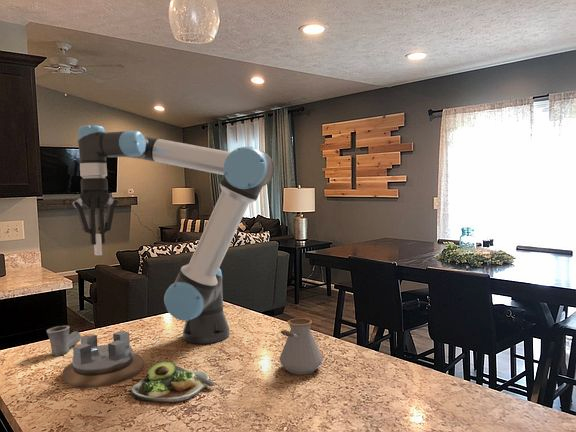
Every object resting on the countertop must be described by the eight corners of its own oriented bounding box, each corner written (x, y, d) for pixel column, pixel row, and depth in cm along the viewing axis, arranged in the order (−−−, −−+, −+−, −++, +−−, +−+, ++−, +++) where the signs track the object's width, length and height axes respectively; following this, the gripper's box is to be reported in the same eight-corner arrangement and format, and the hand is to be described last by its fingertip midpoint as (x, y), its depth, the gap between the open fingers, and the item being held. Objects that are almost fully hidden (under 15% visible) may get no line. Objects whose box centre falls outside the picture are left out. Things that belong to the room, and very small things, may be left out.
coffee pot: (287, 359, 129) (286, 306, 128) (327, 362, 125) (326, 308, 125) (259, 391, 109) (257, 330, 108) (306, 397, 105) (304, 333, 104)
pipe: (85, 344, 148) (83, 319, 147) (61, 358, 135) (59, 332, 134) (67, 343, 148) (66, 319, 148) (41, 358, 136) (40, 332, 135)
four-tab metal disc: (110, 350, 134) (108, 327, 134) (144, 359, 126) (143, 334, 126) (61, 368, 121) (59, 342, 121) (96, 379, 113) (94, 352, 113)
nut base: (152, 357, 133) (152, 349, 133) (126, 387, 114) (126, 378, 113) (85, 358, 134) (84, 351, 134) (47, 388, 114) (46, 380, 114)
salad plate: (229, 377, 118) (228, 360, 118) (195, 410, 101) (194, 389, 101) (163, 370, 124) (163, 354, 124) (121, 400, 107) (120, 381, 107)
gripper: (112, 177, 146) (116, 251, 147) (67, 178, 138) (72, 256, 139) (119, 177, 140) (123, 253, 141) (74, 177, 132) (78, 258, 133)
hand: (98, 254), depth 140 cm, fingers closed
